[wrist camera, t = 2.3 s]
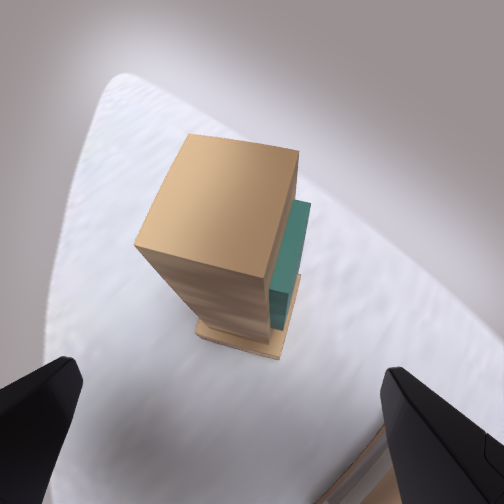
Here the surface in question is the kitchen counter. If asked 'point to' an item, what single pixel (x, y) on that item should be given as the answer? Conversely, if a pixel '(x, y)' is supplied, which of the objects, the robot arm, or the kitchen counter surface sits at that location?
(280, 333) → the oak finger
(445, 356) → the kitchen counter surface
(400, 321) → the kitchen counter surface
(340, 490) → the weathered wooden tray
